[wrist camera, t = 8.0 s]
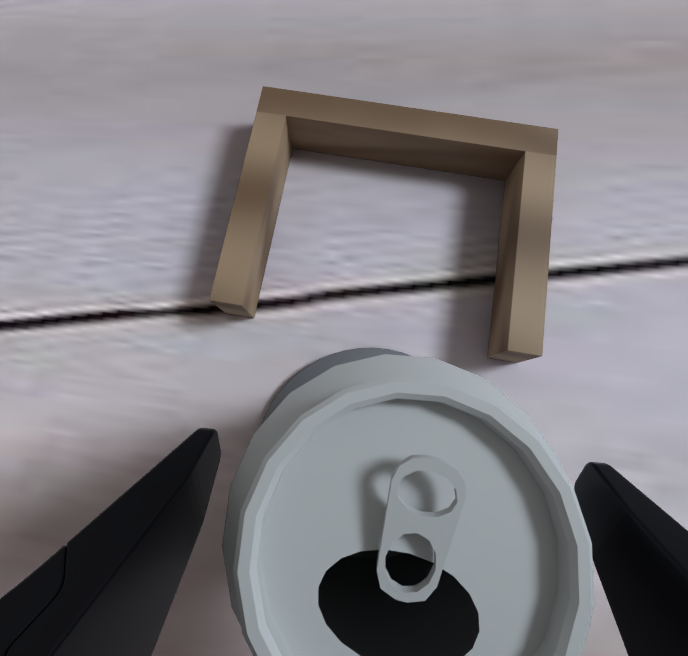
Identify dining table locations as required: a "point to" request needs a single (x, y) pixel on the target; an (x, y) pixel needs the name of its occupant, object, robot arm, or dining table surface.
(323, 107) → the wooden frame
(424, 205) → the dining table surface
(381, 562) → the can
